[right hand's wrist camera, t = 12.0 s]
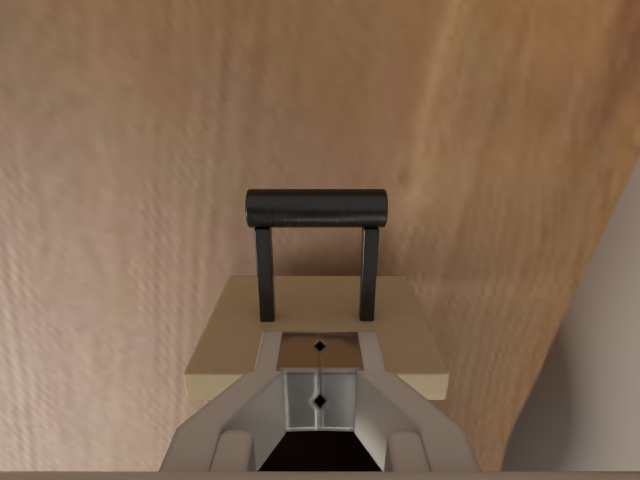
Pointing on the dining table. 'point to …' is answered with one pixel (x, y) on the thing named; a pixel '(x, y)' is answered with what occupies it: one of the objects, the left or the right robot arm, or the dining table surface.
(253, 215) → the drawer
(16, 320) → the dining table surface
